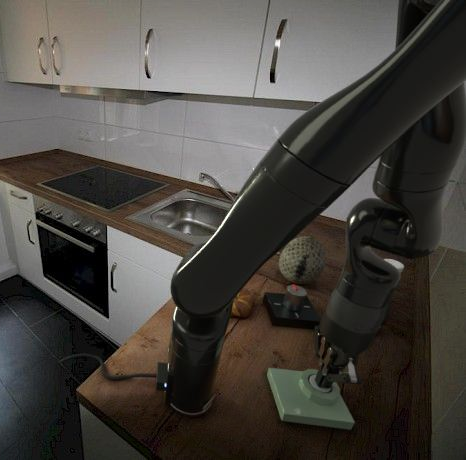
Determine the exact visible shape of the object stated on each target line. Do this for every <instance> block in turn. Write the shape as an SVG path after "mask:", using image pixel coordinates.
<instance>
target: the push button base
mask: <svg viewBox="0 0 466 460" xmlns="http://www.w3.org/2000/svg"><path fill="white" fill-rule="evenodd" d="M317 372H318V369H314V368H307V369H305V370H303V371H302V370H292V369H286V368H285V369H284V368H275V367H268V369H267V371H266V376H267V380H268V383H269V387H270V389H271V392H272V395H273V399H274V401H275V406H276V408H277V411H278V414H279V418H280V420H281V421H282V422H287V423H288V422H289V423H294V424H295V423H296V424H304V425H312V426H318V427H325V428H326V427H327V428H328V427H329V428H333V429H342V430H348V431H349V430H350V431H351V430H352V429H353V427H354V425H355V424H356V422H355V420H354V418H353V415H352V414H351V412H350V409H349V408H348V406H347V405H346V402H345V401H344V398H343V397H342V395H341V393H340V392H341V388H340V386H339V385H338V383H336V382H333V384H332V386H331V389H330V392H329V393H321V392H319V391H317V390H315V389H314V388H313V387H312V386H311V385H310V384H309V382H308V381H309V379H310V377H311V376H312V375H316V374H317Z"/></svg>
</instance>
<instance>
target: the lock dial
mask: <svg viewBox="0 0 466 460" xmlns="http://www.w3.org/2000/svg"><path fill="white" fill-rule="evenodd" d="M284 294H285V297H284V301H283V305H284V307H286V308H287V309H289V310H291V311H300V310H301V309H302V306H303V303H304V300H305V297H306V296H307V294H308V293H307V290H306V289H305V288H303V287H302V286H299V285H297V284H296V283H292V284H291V285H288V286H287V288H286V291H285V293H284Z"/></svg>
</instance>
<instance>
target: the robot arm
mask: <svg viewBox="0 0 466 460" xmlns="http://www.w3.org/2000/svg"><path fill="white" fill-rule="evenodd" d="M396 9H397V12H396V29H395V45H394V50H393V51H392V52H391V53H390V54H389V55H388V56H387V57H385V58H384V59H383V60H382V61H381V62H380V63H379V64H377V65H376V66H374V67H373V68H372V69H371V70H370V71H368V72H366V74H364V75H363V76H361V77H359V78H358V79H357V80H355V81H353V82H352V83H350V84H349V85H347V86H346V87H344V88H342V89H340V90H339V91H337V92H335V93H334V94H332V95H330V96H329V97H327V98H325V99H323V100H321V101H320V102H319V103H317V104H315V105H314V106H313V107H311V108H310V109H308V110H307V111H305V112H303V113H302V114H300V115H299V116H298V117H297V118H295V119H294V120H293V121H292V122H291V123H290V124H289V125H288V126H287V127H285V129H284V130H283V132H281V134H280V135H279V136H278V138H277V139H276V140H275V141H274V143H273V144H271V146H270V148H269V149H268V150H267V151H266V153H265V154H264V155H263V157H262V158H261V159H260V161H259V162H258V163H257V164H256V166H255V167H254V169H253V170H252V171H251V173H250V175H249V176H248V177H247V179H246V180H245V182H244V183H243V185H242V187H241V188H240V190H239V192H238V193H237V195H236V196H235V198H234V200H233V202H232V203H231V205H230V207H229V209H228V210H227V212H226V214H225V215H224V217H223V219H222V221H221V222H220V224H219V226H218V227H217V229H216V230H215V231H214V233H213V234H212V235H211V236H210V237H209V238H208V240H207V241H204V242H200V243H197V244H194V245H193V246H192V247H190V248H189V249H188V250H187V252H185V254H184V256H183V257H182V259H181V260H180V262H179V263H178V265H177V267H176V268H175V270H174V271H173V273H172V277H171V280H170V285H169V286H170V287H169V288H170V295H171V299H172V302H173V303H174V305H175V306H174V309H173V312H172V316H171V321H170V334H169V342H168V346H167V350H166V361H165V362H161V361H158V362H157V364H156V373H147V372H135V373H129V374H122V375H117V376H113V375H109V374H108V373H107V370H106V368H105V363H104V360H103V359H102V358H101V357H99V356H97V355H95V354H92V353H75V354H72V355H69V356H66V357H64V358H62V359H61V360H59V363H60V364H64V363H66V362H67V361H70V360H73V359H79V358H90V359H94V360H96V361H98V362H99V364H100V369H101V373H102V375H103V376H104V378H106V379H107V380H110V381H119V380H125V379H133V378H154V379H155V378H156V379H155V381H156V383H155V391H159V392H163V395H164V396H163V397H164V398H163V405H164V406H165V407H170V408H171V410H173V411H174V412H175V413H177V414H179V415H181V416H183V417H187V418H199V417H201V416H203V415H205V414H206V413H208V412H209V410H210V408H211V407H212V403H213V400H214V399H215V398H216V394H214V391H215V386H216V381H217V377H218V372H219V368H220V363H221V358H222V355H223V348H224V344H225V340H226V335H227V331H228V327H229V323H230V319H231V317H232V316H231V312H232V307H233V303H234V299H235V297H236V296H237V295H238V294H239V292H240V291H241V290H242V289H243V288H245V286H246V285H247V284H248V283H249V282H250V280H251V279H252V278H253V277H254V275H255V274H257V272H258V271H260V269H261V268H262V267H263V266H264V265H265V264H266V263H267V262H269V260H271V259H272V258H273V257H274V256H275V255H277V254H278V253H279V252H280V251H281V250H283V249H284V248H285V246H286V245H287V244H288V243H289V242H290V241H292V240H293V239H295V238H297V236H299V234H300V233H302V232H303V230H305V229H306V228H307V227H308V226H309V225H310V224H311V223H312V222H314V220H316V219H317V218H318V217H319V216H320V215H322V214H323V213H324V212H325V211H326V210H328V208H329V207H330V206H331V205H333V204H334V203H335V202H336V201H337V200H338V199H339V198H340V197H341V196H342V195H343V194H344V193H345V192H346V191H347V190H349V188H351V186H353V185H354V184H355V183H356V181H357V180H359V178H360V177H361V176H362V175H363V174H364V173H366V171H367V170H368V169H370V167H371V166H372V165H373V164H374V163H375V162H376V161H377V163H376V167H375V169H374V173H373V177H372V182H371V189H372V192H373V194H374V195H375V196H376V197H367V198H362V199H361V200H359V201H358V202H356V203H355V204H354V205H353V206H352V207H351V208H350V210H349V212H348V213H347V217H346V220H345V255H344V263H343V265H342V266H343V267H342V270H341V272H340V275H339V277H338V280H337V283H336V285H335V287H334V289H333V290H332V292H331V294H330V296H329V298H328V301H327V304H326V306H325V308H324V311H323V314H322V316H321V321H320V324H319V326H315V330H314V352H315V353H314V355H315V358H316V359H318V361H317V366H318V369H317V370H318V372H317V374H316V378H315V381H316V384H317V386H318V387H319V388H326V389H330V388H331V386H332V384H333V382H336V383H337V384H351V385H361V384H362V383H363V379H362V376H361V375H357V374H356V369H355V366H357V365H358V362H359V355H360V354H362V353H364V352H366V351H367V350H369V349H370V347H371V345H372V344H373V341H374V339H375V337H376V336H377V334H378V332H379V330H380V328H381V327H380V325H381V323H382V321H383V319H384V317H385V315H386V311H387V307H388V305H389V303H390V301H391V299H392V300H393V297H394V295H395V293H396V291H397V288H398V286H399V285H400V282H401V278H402V273H401V274H400V272H399V270H398V269H397V268H396V267H395V266H393V265H392V264H390V263H389V262H387V261H385V260H384V259H385V258H382V257H380V256H379V255H377V254H376V253H375V252H374V251H373V250H372V249H375V250H378V251H381V252H383V253H388V254H391V255H394V256H396V257H400V258H402V259H407V260H419V259H422V258H423V259H424V258H425V257H427V256H430V255H431V254H433V253H434V252H435V251H436V250H437V249H438V247H439V245H440V244H441V242H442V239H443V237H444V236H443V235H444V229H445V228H444V226H445V222H444V196H445V192H446V189H447V186H448V184H449V182H450V180H451V178H452V176H453V174H454V172H455V169H456V167H457V165H458V163H459V161H460V159H461V156H462V154H463V152H464V149H465V147H466V85H465V82H466V0H397V8H396ZM379 327H380V328H379Z"/></svg>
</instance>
